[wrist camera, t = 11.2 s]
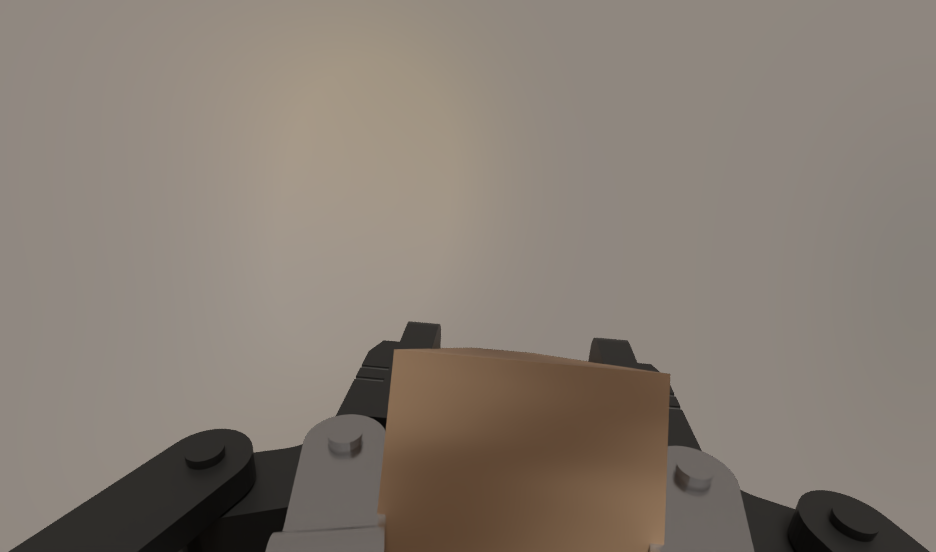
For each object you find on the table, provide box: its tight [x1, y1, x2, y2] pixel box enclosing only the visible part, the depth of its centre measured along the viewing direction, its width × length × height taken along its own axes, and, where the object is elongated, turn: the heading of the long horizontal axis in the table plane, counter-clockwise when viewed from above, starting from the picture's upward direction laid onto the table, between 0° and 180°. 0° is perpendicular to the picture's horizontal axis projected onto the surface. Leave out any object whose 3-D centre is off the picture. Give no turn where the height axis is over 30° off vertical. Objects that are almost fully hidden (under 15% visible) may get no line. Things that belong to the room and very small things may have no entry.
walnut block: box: [377, 348, 670, 552], centre depth 18 cm, size 4×24×4 cm, turn 177°
